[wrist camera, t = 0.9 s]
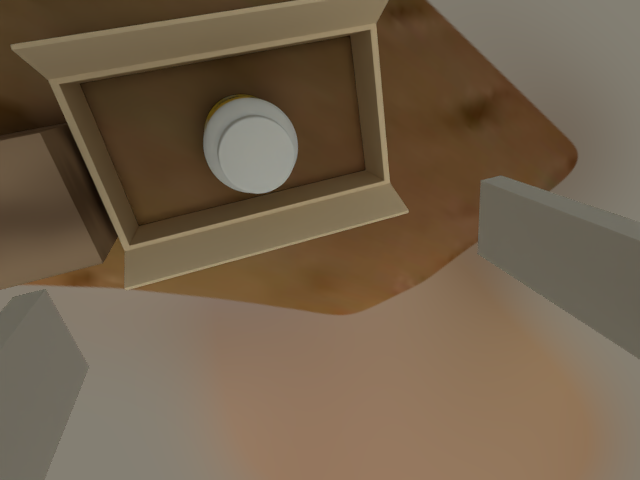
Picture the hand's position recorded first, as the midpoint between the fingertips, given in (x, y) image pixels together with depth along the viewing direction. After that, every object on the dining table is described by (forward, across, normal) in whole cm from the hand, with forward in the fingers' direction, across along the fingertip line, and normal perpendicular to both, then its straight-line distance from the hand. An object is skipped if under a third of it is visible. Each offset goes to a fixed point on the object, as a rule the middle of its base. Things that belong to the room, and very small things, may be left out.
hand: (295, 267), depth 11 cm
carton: (+24, +1, +1) cm, 25 cm away
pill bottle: (+25, +1, +1) cm, 25 cm away
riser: (+24, -16, -1) cm, 29 cm away
